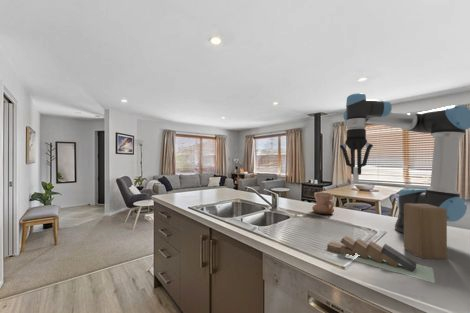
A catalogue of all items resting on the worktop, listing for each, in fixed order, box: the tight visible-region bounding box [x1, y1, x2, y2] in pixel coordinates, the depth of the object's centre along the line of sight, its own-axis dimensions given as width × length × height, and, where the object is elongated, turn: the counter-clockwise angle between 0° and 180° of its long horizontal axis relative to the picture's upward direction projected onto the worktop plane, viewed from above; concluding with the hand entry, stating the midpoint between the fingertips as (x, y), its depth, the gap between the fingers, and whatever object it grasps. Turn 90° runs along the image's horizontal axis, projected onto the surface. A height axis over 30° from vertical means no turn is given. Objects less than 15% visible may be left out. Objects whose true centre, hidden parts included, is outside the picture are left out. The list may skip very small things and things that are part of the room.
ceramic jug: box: [312, 191, 335, 215], centre depth 152 cm, size 18×14×14 cm
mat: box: [353, 256, 436, 284], centre depth 79 cm, size 12×26×1 cm, turn 49°
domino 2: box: [353, 237, 383, 263], centre depth 83 cm, size 5×2×10 cm
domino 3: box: [367, 240, 399, 268], centre depth 80 cm, size 5×2×10 cm
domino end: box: [327, 240, 356, 256], centre depth 89 cm, size 5×2×10 cm
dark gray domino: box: [381, 243, 417, 272], centre depth 77 cm, size 5×2×10 cm
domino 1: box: [340, 234, 368, 259], centre depth 86 cm, size 5×2×10 cm
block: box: [403, 203, 448, 260], centre depth 87 cm, size 10×10×20 cm
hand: (356, 181), depth 94 cm, fingers closed
